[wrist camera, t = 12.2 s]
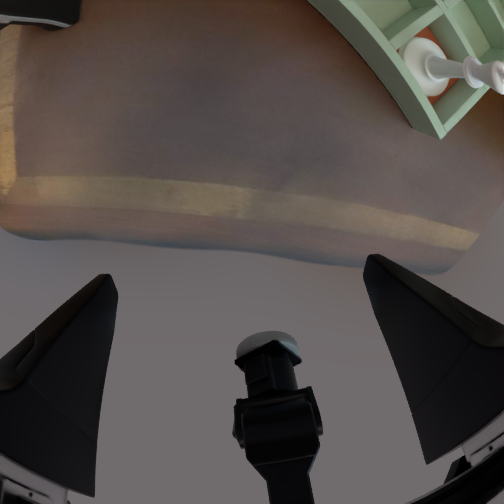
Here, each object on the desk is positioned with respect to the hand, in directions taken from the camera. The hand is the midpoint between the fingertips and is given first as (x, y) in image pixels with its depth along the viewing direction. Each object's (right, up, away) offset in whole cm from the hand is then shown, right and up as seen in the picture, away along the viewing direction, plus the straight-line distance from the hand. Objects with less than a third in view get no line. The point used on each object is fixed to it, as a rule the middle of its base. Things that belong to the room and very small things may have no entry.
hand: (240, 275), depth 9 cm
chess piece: (+13, +15, +5) cm, 20 cm away
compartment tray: (+15, +21, +2) cm, 26 cm away
